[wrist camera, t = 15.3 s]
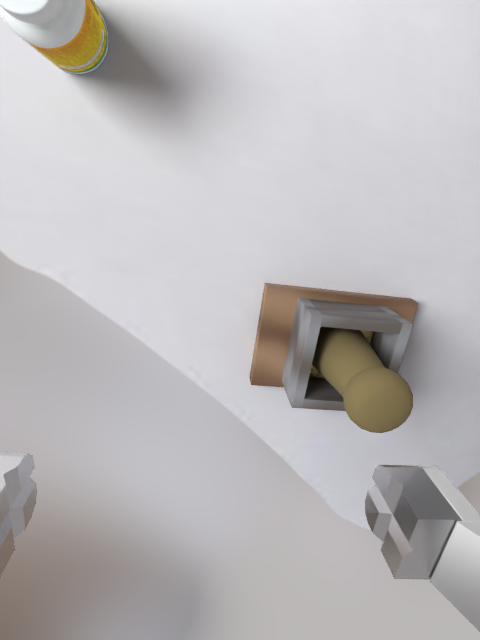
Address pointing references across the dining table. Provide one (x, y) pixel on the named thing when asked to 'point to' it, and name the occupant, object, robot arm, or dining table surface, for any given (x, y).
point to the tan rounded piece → (362, 380)
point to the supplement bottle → (60, 31)
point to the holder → (303, 329)
